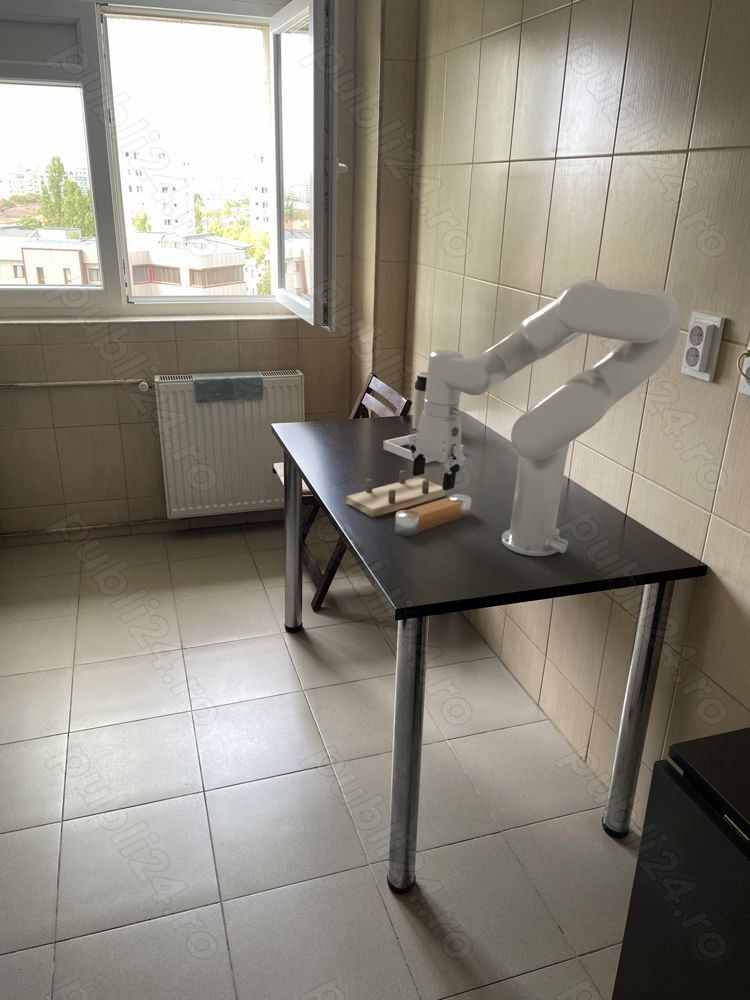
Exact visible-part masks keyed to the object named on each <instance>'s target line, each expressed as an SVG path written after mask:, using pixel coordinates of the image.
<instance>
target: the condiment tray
mask: <svg viewBox="0 0 750 1000" xmlns="http://www.w3.org/2000/svg"><path fill="white" fill-rule="evenodd" d="M415 434H416V433H414V434H409V435H405V436H400V437H394V438H392V439H386V440H383V441H382V443H383V444H382V446H383V447H382V449H383V450H384V451H386V452H390V453H391V454H394V455H397V456H399V457H402V458H404V459H407V460H410V461H412V462H414V459H413V458H412V452H411V449H408V448H405V447H402V446H407V445H410V443H409V439H408V437H409V436H412V435H415ZM464 446H465V445H464V444H461V450H460V451H461V452H462V453H463V454H464ZM424 457H425V459H426V461H425V464H427V463H431V462H434V461H436V460H433V459H431V458H429V457H426V456H424Z"/></svg>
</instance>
